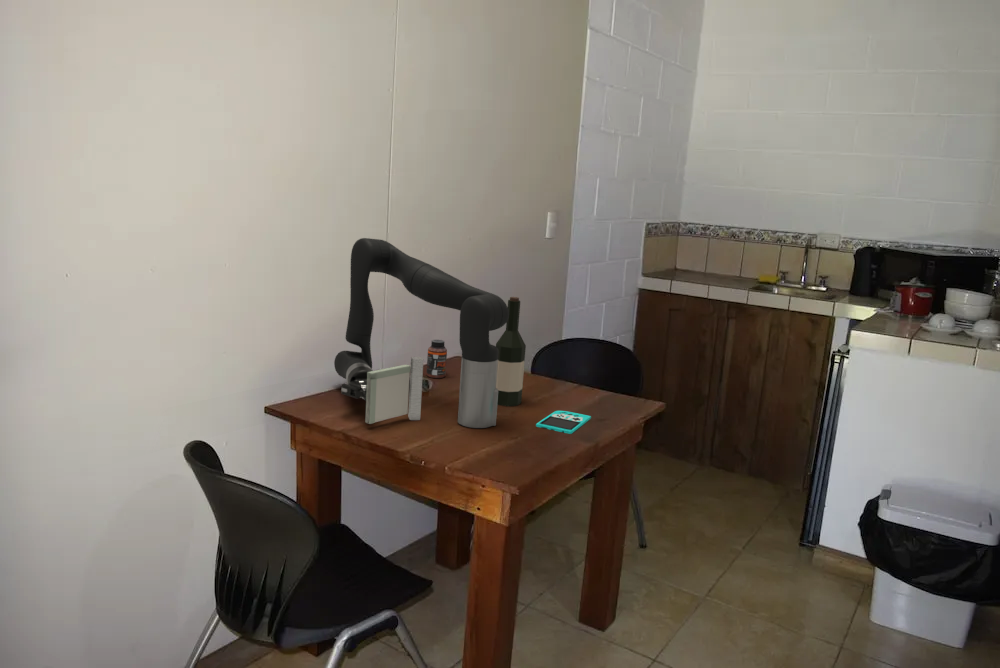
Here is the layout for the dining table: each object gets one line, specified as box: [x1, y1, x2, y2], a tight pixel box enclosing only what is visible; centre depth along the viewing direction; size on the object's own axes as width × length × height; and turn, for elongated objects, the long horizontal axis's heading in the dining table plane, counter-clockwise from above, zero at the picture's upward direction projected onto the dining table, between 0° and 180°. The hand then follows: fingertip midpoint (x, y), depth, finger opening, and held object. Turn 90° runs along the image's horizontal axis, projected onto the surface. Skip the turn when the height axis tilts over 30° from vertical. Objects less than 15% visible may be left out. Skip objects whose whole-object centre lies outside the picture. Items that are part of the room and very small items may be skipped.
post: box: [407, 356, 424, 421], centre depth 198 cm, size 3×3×16 cm
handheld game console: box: [535, 410, 592, 435], centre depth 205 cm, size 10×16×1 cm, turn 155°
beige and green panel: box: [364, 364, 411, 425], centre depth 192 cm, size 13×2×13 cm, turn 140°
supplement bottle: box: [426, 339, 448, 379], centre depth 240 cm, size 6×6×11 cm
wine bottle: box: [495, 296, 526, 407], centre depth 217 cm, size 8×8×30 cm
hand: (371, 398), depth 190 cm, fingers closed
